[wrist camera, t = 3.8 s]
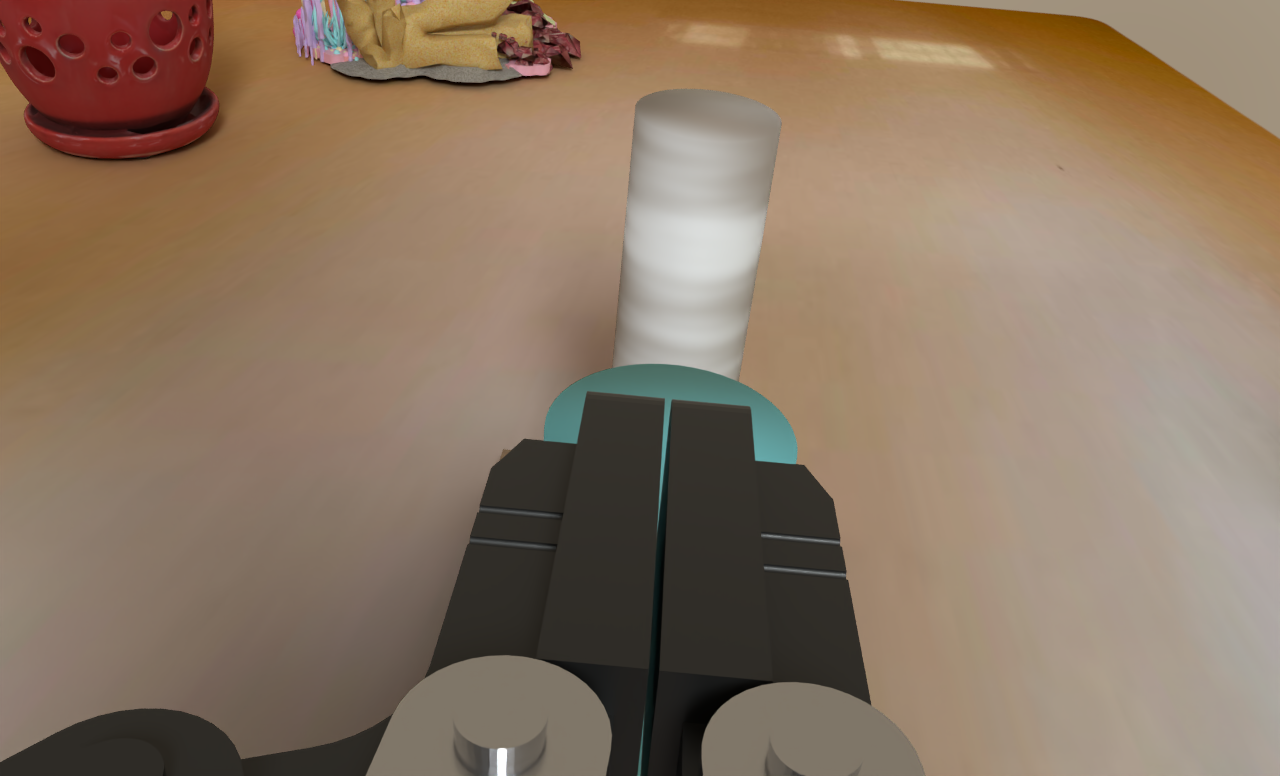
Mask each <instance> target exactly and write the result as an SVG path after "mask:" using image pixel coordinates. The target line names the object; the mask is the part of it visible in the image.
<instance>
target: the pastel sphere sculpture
mask: <svg viewBox="0 0 1280 776" xmlns="http://www.w3.org/2000/svg"><path fill="white" fill-rule="evenodd" d="M512 1H513V0H335V3H334V0H328V2H329V7H330V12H331V18H330V17H329V15H328V17H327V13H326V9H325V2H324V0H301V2H302V7H303V8H302V7H301V9H298V10H297V12H296V15H295V16H294V19H293V24H294V28H293V33H294V36H295V38H296V46H297V53H299V57H301V48H302V46H305V57H308V56H309V51H310V54H311V65H314V60H313V58H315V59H317V58H320V60H321V62H326V63H329V64H330V65H331V68H332V69H334V70H337V71H339V72H342V73H344V74H346V75H349V76H359V77H364V78H367V79H381V80H382V79H389V78H394V77H404V78H407V77H414V76H419V75H425V76H428V77H431V78H434V79H444V80H449V81H453V82H474V83H482V82H487V81H491V80H507V79H511V78H515V77H520V76H522V75H523V76H532V75H548V74H550V71H551V70H552V69H553V67H552V65H551V64H555V65H559V66H563V67H568V68H572V64H571V61H570V58H569V55H572V56H576V57H580V58H581V53H580V41H578V40H577V39H576V38H574V37H573V36H572V35H570V34H569V33H562V32H560V31H559V30H558V29H557V23H556V22H555V21H553V20H552V17H549V16H547V15H545V14H544V13H543V12H542V10H541V8H540V7H539V6H538V5H536V4H535V3H534V1H533V0H522V1H518V2H512ZM335 4H336V8H335ZM327 12H328V11H327ZM297 18H298V19H299V22H298V19H297ZM572 69H573V68H572Z"/></svg>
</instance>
